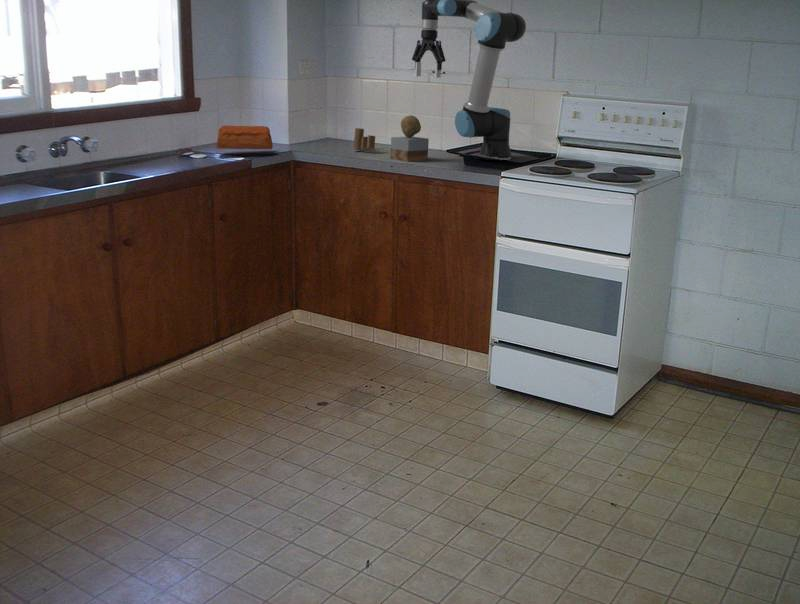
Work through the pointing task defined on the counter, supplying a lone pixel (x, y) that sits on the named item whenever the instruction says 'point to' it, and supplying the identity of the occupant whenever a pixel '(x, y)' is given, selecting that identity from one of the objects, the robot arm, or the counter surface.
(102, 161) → the counter surface
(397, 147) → the tower top slab
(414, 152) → the tower base slab
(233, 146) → the bread
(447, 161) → the counter surface
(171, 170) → the counter surface
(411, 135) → the natural sponge
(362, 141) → the wooden block set
